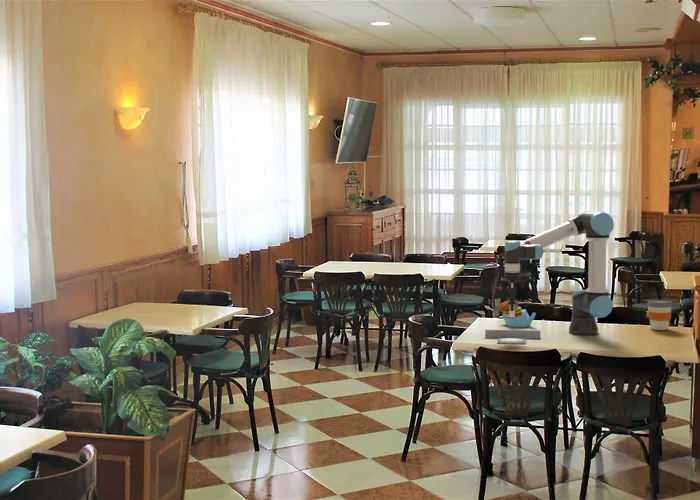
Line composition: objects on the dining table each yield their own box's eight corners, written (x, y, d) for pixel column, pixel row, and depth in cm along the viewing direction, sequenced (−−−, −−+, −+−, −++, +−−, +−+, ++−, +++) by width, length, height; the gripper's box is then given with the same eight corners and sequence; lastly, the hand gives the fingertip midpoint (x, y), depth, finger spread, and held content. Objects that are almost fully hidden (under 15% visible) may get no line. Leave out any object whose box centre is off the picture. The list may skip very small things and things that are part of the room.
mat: (525, 339, 424) (525, 338, 424) (525, 344, 410) (525, 343, 410) (497, 338, 427) (497, 337, 427) (497, 343, 413) (497, 342, 413)
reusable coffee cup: (646, 329, 446) (646, 302, 444) (647, 326, 457) (647, 299, 456) (671, 330, 441) (671, 302, 440) (672, 327, 452) (672, 299, 451)
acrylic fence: (540, 338, 427) (540, 330, 427) (540, 338, 426) (540, 330, 425) (485, 337, 432) (485, 329, 432) (485, 337, 431) (485, 329, 431)
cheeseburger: (524, 317, 412) (517, 299, 411) (504, 324, 414) (496, 306, 413) (524, 312, 421) (517, 294, 420) (504, 319, 424) (497, 301, 423)
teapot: (526, 323, 472) (526, 305, 472) (536, 328, 458) (536, 308, 457) (500, 325, 470) (500, 306, 469) (510, 329, 455) (510, 309, 454)
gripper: (504, 269, 428) (504, 312, 429) (504, 273, 405) (504, 318, 407) (519, 269, 426) (519, 312, 428) (520, 274, 404) (519, 319, 405)
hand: (512, 315), depth 417 cm, fingers closed on cheeseburger, 10 cm apart
